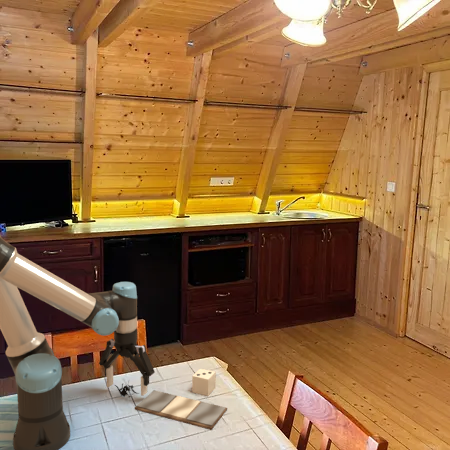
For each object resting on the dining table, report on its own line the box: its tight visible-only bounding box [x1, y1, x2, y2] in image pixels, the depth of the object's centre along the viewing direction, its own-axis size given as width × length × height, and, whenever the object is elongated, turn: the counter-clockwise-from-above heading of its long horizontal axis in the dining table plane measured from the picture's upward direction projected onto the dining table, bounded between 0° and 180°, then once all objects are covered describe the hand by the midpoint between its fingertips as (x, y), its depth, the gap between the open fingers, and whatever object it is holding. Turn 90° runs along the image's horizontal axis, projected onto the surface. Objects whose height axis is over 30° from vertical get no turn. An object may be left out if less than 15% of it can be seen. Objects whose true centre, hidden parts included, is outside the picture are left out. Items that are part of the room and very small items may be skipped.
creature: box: [114, 379, 140, 399], centre depth 159 cm, size 8×5×8 cm
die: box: [191, 368, 217, 397], centre depth 162 cm, size 6×6×6 cm
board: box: [134, 389, 228, 430], centre depth 150 cm, size 27×12×1 cm, turn 67°
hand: (126, 389), depth 158 cm, fingers open, 13 cm apart
